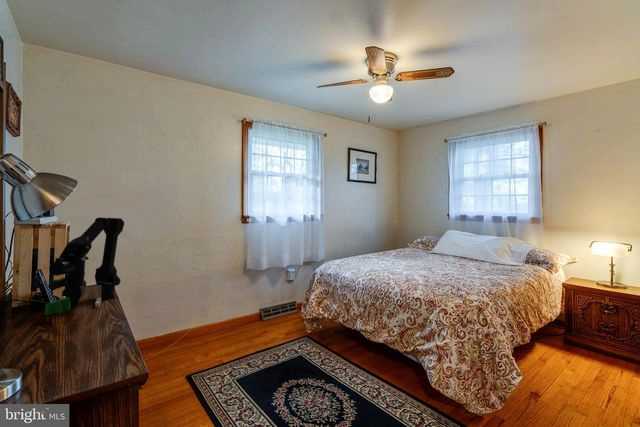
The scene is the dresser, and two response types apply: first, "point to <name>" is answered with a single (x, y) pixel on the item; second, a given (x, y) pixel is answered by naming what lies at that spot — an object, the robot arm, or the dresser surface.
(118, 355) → the dresser surface
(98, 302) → the slot rails
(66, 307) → the pipe clamp
